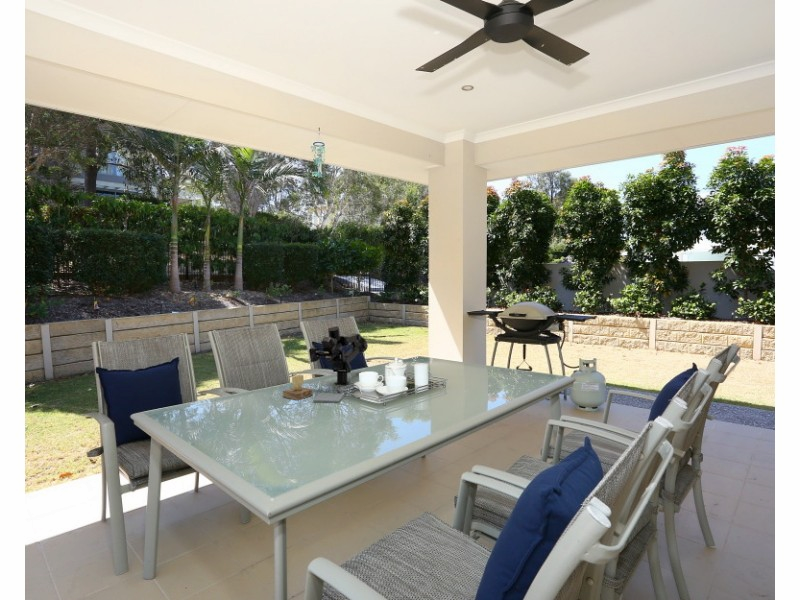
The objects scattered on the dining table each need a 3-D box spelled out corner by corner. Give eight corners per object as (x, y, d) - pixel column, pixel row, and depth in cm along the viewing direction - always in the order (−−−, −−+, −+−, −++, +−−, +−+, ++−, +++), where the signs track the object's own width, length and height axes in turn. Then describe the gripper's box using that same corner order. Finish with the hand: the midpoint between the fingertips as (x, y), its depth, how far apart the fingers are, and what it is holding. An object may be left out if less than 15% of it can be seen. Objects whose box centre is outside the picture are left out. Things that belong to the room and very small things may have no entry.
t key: (300, 394, 226) (299, 374, 225) (303, 395, 224) (303, 375, 224) (292, 396, 222) (292, 376, 221) (296, 397, 220) (295, 377, 220)
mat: (320, 395, 225) (320, 393, 225) (344, 395, 224) (344, 393, 224) (313, 402, 213) (313, 400, 213) (339, 403, 212) (339, 400, 212)
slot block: (298, 392, 230) (298, 386, 230) (312, 395, 224) (312, 389, 224) (283, 396, 222) (282, 390, 222) (297, 400, 216) (297, 394, 216)
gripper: (315, 333, 239) (299, 345, 225) (347, 335, 233) (334, 348, 219) (318, 353, 243) (303, 366, 229) (350, 355, 237) (337, 369, 223)
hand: (319, 362), depth 225 cm, fingers open, 9 cm apart
